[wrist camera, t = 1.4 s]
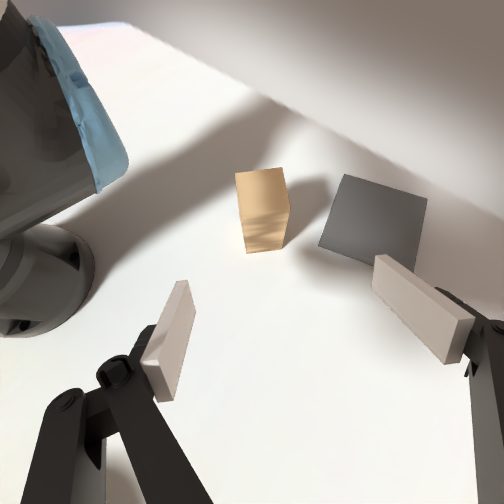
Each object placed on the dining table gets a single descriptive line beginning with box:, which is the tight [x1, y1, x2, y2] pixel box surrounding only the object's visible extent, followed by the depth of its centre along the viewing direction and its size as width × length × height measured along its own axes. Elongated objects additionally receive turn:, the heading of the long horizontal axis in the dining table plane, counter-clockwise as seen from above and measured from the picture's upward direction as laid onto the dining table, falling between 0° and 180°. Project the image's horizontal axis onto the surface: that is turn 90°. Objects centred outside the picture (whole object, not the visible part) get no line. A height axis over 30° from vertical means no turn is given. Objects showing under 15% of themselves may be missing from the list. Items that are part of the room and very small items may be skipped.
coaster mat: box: [318, 174, 428, 273], centre depth 33 cm, size 12×12×2 cm
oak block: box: [235, 167, 291, 254], centre depth 29 cm, size 5×5×11 cm
